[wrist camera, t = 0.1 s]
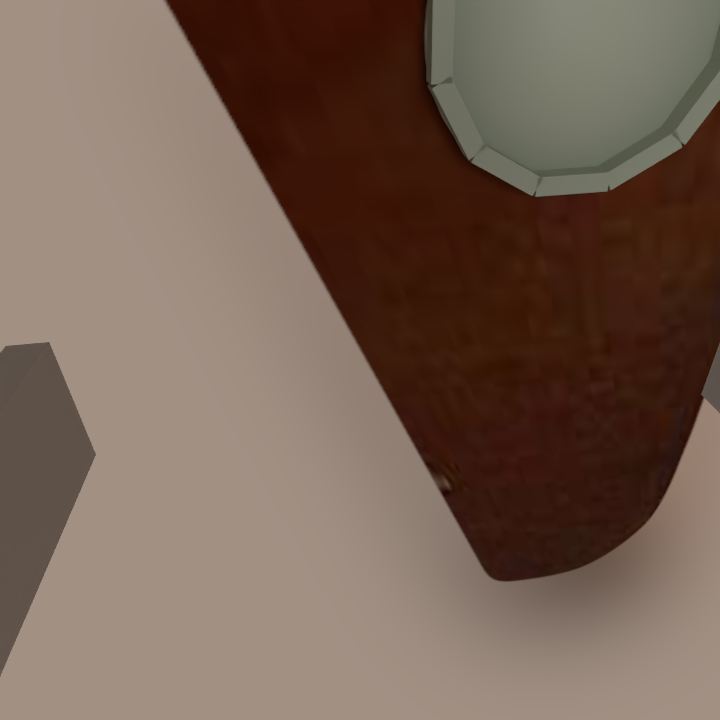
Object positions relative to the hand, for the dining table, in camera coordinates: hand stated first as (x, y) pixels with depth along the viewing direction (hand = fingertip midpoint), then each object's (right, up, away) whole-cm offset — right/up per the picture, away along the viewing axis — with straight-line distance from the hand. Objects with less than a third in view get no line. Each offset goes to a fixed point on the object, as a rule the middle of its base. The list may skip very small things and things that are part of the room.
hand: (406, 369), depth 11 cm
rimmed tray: (+12, +20, +22) cm, 32 cm away
